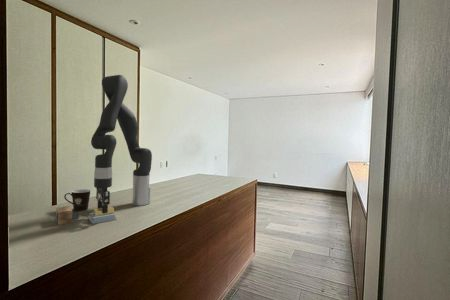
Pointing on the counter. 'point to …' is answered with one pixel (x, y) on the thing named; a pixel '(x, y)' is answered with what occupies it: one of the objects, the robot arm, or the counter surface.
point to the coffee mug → (80, 199)
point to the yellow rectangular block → (99, 211)
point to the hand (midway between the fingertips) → (102, 210)
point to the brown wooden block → (64, 215)
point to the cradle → (101, 218)
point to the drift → (74, 217)
